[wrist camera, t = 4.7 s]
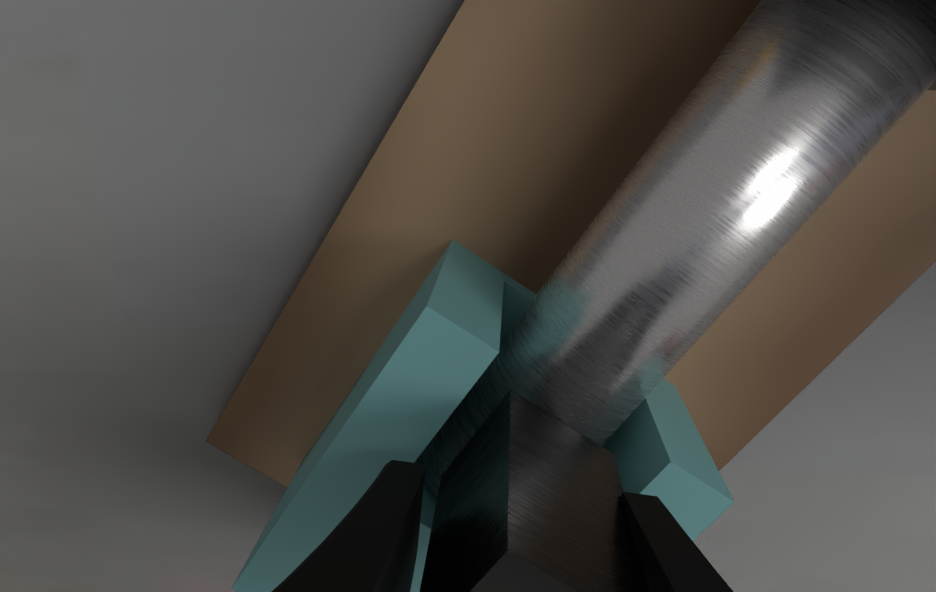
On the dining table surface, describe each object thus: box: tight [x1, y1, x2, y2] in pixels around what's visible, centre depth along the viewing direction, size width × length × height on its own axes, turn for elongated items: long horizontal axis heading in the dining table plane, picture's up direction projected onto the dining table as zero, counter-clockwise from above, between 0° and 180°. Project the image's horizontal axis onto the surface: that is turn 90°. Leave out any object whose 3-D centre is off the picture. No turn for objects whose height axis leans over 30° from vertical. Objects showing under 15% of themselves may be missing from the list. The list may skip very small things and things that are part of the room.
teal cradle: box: [231, 240, 734, 592], centre depth 14 cm, size 7×8×4 cm
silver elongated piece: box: [419, 0, 936, 592], centre depth 9 cm, size 3×14×7 cm, turn 147°
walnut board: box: [206, 0, 936, 488], centre depth 13 cm, size 12×31×1 cm, turn 147°
